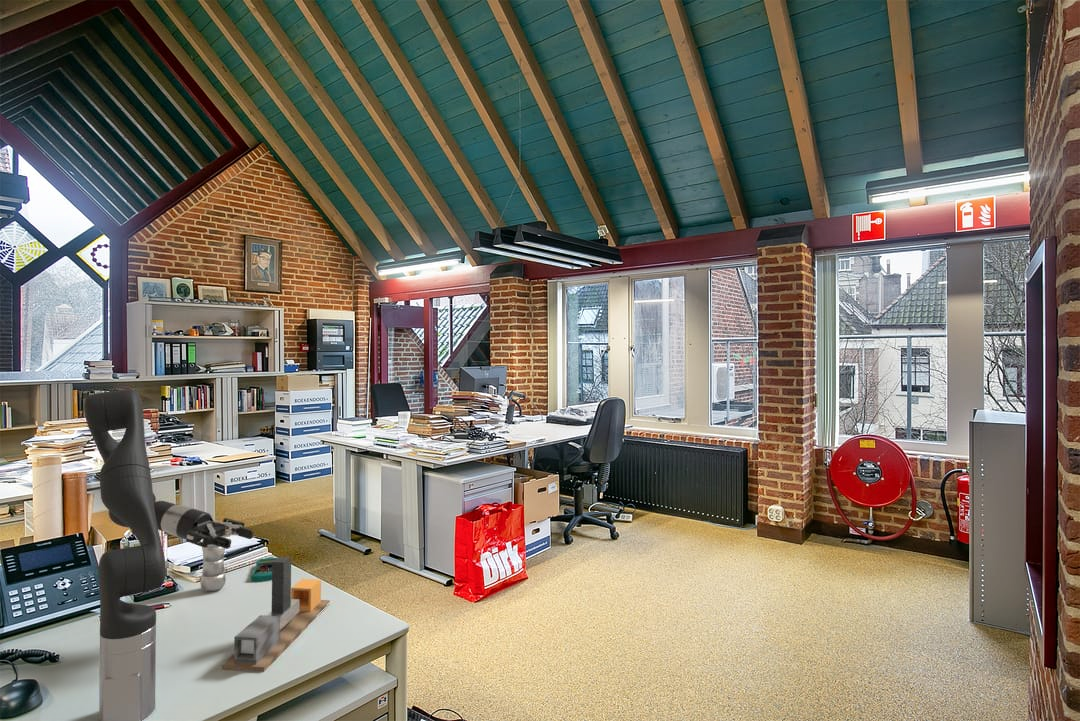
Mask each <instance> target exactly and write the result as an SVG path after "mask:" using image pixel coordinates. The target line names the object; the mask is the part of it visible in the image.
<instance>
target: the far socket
mask: <svg viewBox="0 0 1080 721" xmlns="http://www.w3.org/2000/svg"><path fill="white" fill-rule="evenodd" d="M291 599H299V611H310V612H311V611H312V610H313V609H314V608H315V607H316V606H317V605H318V604H319V603H320V602H321V600H322V579H314V578H313V579H312V578H300V580H298V581H297V582H296V583H295V584H294V585H293V586H291Z"/></svg>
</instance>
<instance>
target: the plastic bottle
mask: <svg viewBox="0 0 1080 721" xmlns="http://www.w3.org/2000/svg"><path fill="white" fill-rule="evenodd" d="M224 538H227V537H224ZM201 542H203V539H202V540H201ZM201 550H202V559H203V561H202V574H201V577H200V582H199V583H200V588H201V589H202V590H203V591H204V592H215V591H219V590H221V589H222V588H224V586H225V585H226V580H227V579H226V573H225V550H226V548H222V547H219V546H216V545H215V546H210V545H208V546H207V547H201Z"/></svg>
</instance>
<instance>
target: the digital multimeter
mask: <svg viewBox="0 0 1080 721" xmlns="http://www.w3.org/2000/svg"><path fill="white" fill-rule="evenodd" d="M277 558H278V557H268V558H260V559H257V560H256V563H255V567H254V570H253V572H252V573H251V576H250V581H251V582H252V583H253V582H257V583H258V582H269V581H272V562H273V561H274V560H276V559H277Z"/></svg>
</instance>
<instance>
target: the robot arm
mask: <svg viewBox="0 0 1080 721" xmlns="http://www.w3.org/2000/svg"><path fill="white" fill-rule="evenodd" d="M83 408H84V410H83V411H84V416H85V421H86V424H87V427H88V430H89V432H90V434H91V436H92V438H93V441H94V444H95V446H96V448H97V450H98V453H99V455H100V458H102V460H103V465H102V466H101V469H100V470H99V476H98V478H99V490H100V499H101V502H102V504H103V505H104V506H105V508H106V509H107V511H108V516H109V519H110V521H111V522H113V523H114V524H115V525H117V526H120V527H123V528H129V529H130V530H131V531H132V533H133V534H134V535H135V537H136V538H137V541H138V542H139V544H140V545H134V546H128V547H124V548H123V547H122V548H116V549H112V550H111V549H110V550H108V551H107V550H106V551H105V552H104V553H103V554H102V555H101V557H100V558H99V562H98V574H97V575H98V592H99V606H100V607H99V617H100V618H99V682H98V683H99V684H98V688H99V690H98V691H99V692H98V694H99V697H98V702H99V703H98V704H99V705H98V706H99V708H98V709H99V712H98V713H99V714H98V715H99V717H98V719H99V720H98V721H142V720H144V719H145V718H147V717H148V716H150V715H151V714H152V713H153V712H154V710H155V709H156V675H157V674H156V673H157V672H156V666H157V664H156V663H157V662H156V660H157V658H156V657H157V652H156V651H157V649H156V648H157V644H156V643H157V612H156V609H155V608H154V607H152V606H150V605H146V604H140V603H139V604H138V603H130V602H127V601H123V600H121V599H122V598H123V597H129V596H134V595H137V594H138V595H139V594H142V593H143V594H144V593H148V592H152V591H155V590H158V589H159V588H161V587H162V586H163V584H164V583H165V580H166V574H167V572H166V571H167V570H166V569H167V567H166V565H167V564H166V558H165V554H164V549H163V544H162V540H161V536H160V532H159V531H162V532H165V533H167V534H168V535H169V536H170V535H171V536H174V537H176V538H180V539H183V540H185V541H186V542H187V543H190V544H193V545H196V546H199V547H200V548H202V547H207V546H208V545H210V546H215V545H216V546H219V547H222V548H225V550H226V549H230V548H231V545H232V540H231V539H230V537H231V536H238V537H241V538H245V539H248V540H252V539H253V538H254V533H255V531H254V530H253V529H250V528H247V527H245V522H242V521H238V520H235V519H231V518H229V517H228V518H227V517H224V518H223V520H222V521H221V520H214V519H213V517H212V515H211V514H210V513H209V512H207V511H203V510H200V509H197V508H193V507H190V506H186V505H179V504H176V503H172V502H169V501H166V500H165V501H164V500H158V501H156V495H155V493H154V490H153V482H152V474H151V473H152V472H151V469H150V464H149V457H148V452H147V447H146V438H145V421H144V420H145V418H144V416H145V415H144V406H143V402H142V398H141V396H140V393H139V392H138V391H137V390H135V389H133V388H130V389H128V388H127V389H118V390H110V391H105V392H104V391H103V392H102V391H101V392H97V393H91V394H89V395H87V396H86V397H85V399H84V403H83ZM123 429H125V430H124V434H123V436H122V438H121V440H120V442H118V441H117V440H116V439H115V438H113V436H112V435H111V434H110V432H112V431H118V430H123ZM226 531H227V532H226ZM224 537H226V538H224ZM202 539H203V542H202Z"/></svg>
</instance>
